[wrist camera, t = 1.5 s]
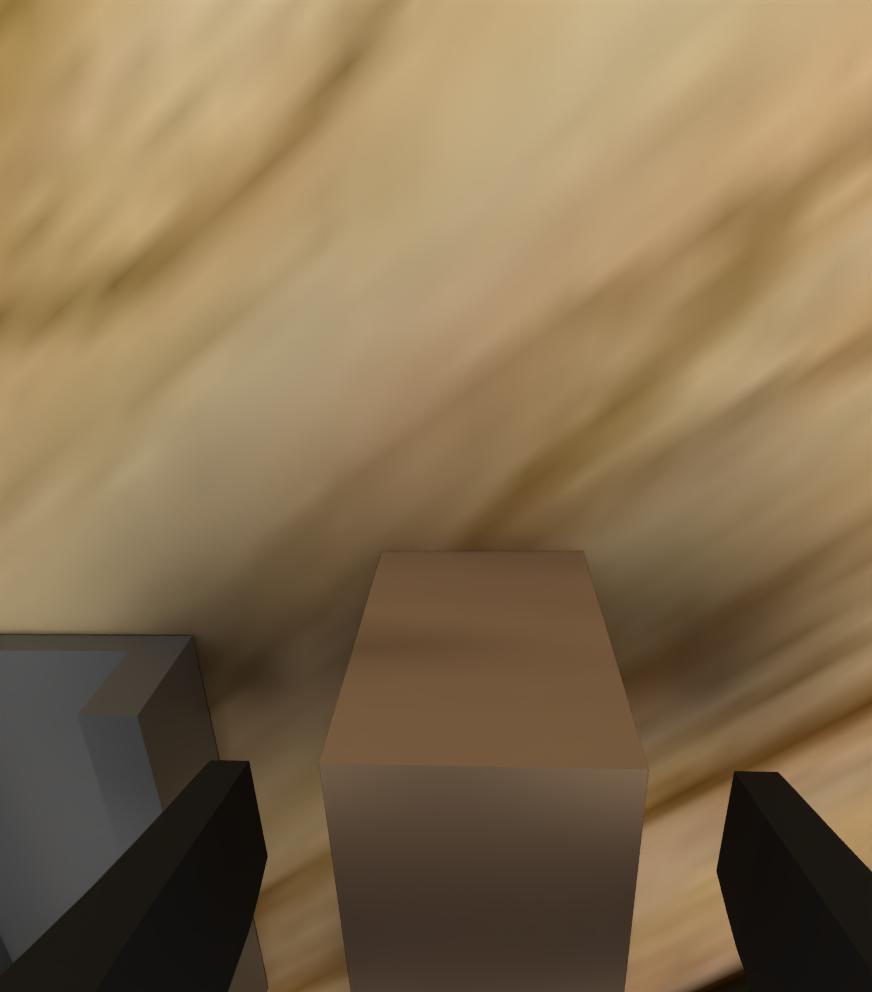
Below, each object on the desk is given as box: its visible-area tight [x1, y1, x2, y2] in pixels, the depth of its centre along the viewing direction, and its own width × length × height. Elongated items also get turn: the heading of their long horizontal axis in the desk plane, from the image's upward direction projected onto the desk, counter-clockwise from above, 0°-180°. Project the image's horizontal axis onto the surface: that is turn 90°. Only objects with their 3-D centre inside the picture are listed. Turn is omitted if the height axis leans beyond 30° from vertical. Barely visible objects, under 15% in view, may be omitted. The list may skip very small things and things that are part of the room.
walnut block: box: [319, 551, 649, 992], centre depth 11 cm, size 6×4×5 cm, turn 2°
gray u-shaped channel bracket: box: [0, 635, 268, 992], centre depth 14 cm, size 10×7×2 cm, turn 2°
